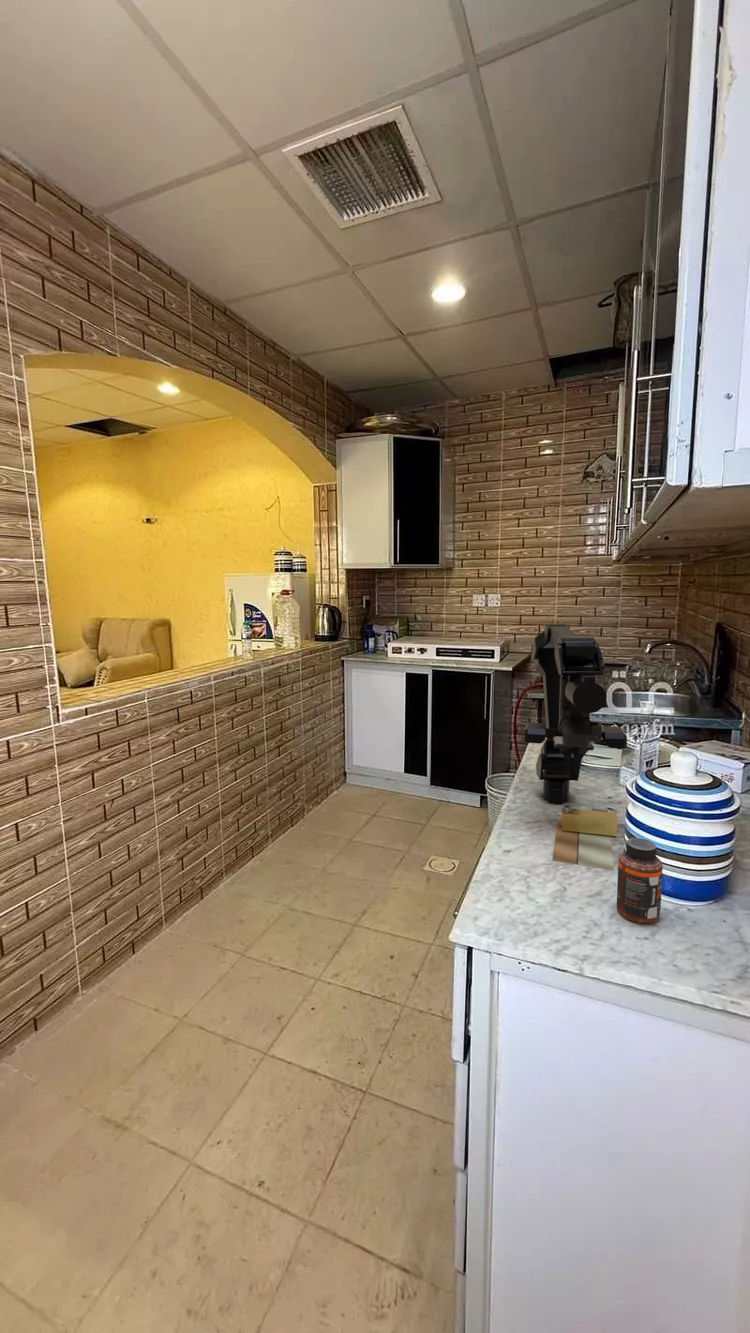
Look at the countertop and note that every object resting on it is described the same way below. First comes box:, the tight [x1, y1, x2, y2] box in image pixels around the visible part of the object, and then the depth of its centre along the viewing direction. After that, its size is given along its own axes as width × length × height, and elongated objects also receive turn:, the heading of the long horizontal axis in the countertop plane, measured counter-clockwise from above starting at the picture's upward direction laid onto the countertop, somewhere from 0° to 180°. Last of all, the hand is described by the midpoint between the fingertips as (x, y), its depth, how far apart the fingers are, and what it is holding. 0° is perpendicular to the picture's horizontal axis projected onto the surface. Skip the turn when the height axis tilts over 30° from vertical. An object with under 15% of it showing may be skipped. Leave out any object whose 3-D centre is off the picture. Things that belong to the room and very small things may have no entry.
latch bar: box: [561, 805, 619, 837], centre depth 104 cm, size 10×3×4 cm, turn 72°
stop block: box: [591, 808, 609, 812], centre depth 106 cm, size 2×3×4 cm, turn 68°
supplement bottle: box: [616, 837, 663, 924], centre depth 79 cm, size 6×6×11 cm
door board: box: [552, 819, 614, 871], centre depth 100 cm, size 18×10×1 cm, turn 158°
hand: (572, 775), depth 106 cm, fingers closed
